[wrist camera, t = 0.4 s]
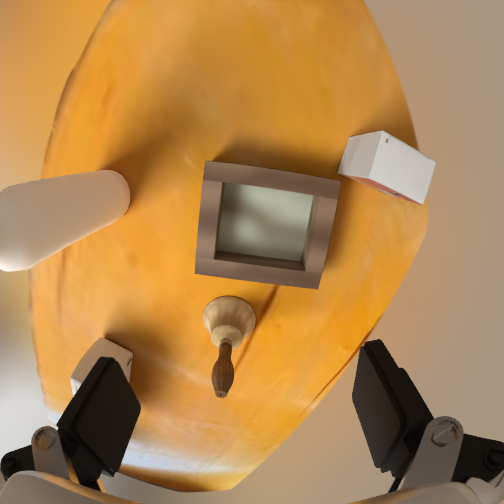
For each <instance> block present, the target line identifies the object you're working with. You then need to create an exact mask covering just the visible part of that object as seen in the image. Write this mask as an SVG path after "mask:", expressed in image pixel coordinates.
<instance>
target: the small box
mask: <svg viewBox="0 0 504 504" xmlns="http://www.w3.org/2000/svg"><path fill="white" fill-rule="evenodd" d="M435 165H436V161H434V160H433V159H431V158H429V157H428V156H426V155H424V154H423V153H421V152H419V151H418V150H416V149H414V148H413V147H411V146H409V145H407V144H406V143H404V142H402V141H400V140H399V139H397V138H395V137H394V136H392V135H390V134H389V133H387V132H385V131H384V130H381V131H376V132H371V133H366V134H361V135H357V136H352V137H349V138H348V141H347V145H346V148H345V151H344V154H343V157H342V160H341V163H340V166H339V169H338V172H337V174H339V175H342V176H345V177H347V178H350V179H352V180H355V181H357V182H359V183H362V184H364V185H366V186H368V187H371V188H373V189H375V190H377V191H379V192H382V193H384V194H388V195H392V196H395V197H398V198H402V199H404V200H407V201H411V202H414V203H417V204H420V205H423V203H424V200H425V198H426V195H427V192H428V188H429V185H430V182H431V179H432V175H433V172H434V168H435Z"/></svg>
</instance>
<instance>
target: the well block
mask: <svg viewBox="0 0 504 504" xmlns="http://www.w3.org/2000/svg"><path fill="white" fill-rule="evenodd" d="M340 185H341V182H340V181H336V180H332V179H327V178H322V177H317V176H312V175H306V174H301V173H295V172H289V171H283V170H277V169H270V168H263V167H256V166H249V165H241V164H233V163H225V162H215V161H205V168H204V176H203V185H202V194H201V203H200V213H199V224H198V235H197V248H196V261H195V274H201V275H208V276H215V277H222V278H230V279H237V280H245V281H252V282H260V283H268V284H277V285H285V286H294V287H302V288H311V289H318V287H319V283H320V279H321V275H322V271H323V267H324V263H325V259H326V254H327V250H328V245H329V241H330V236H331V231H332V227H333V222H334V217H335V212H336V207H337V201H338V196H339V190H340Z"/></svg>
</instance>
